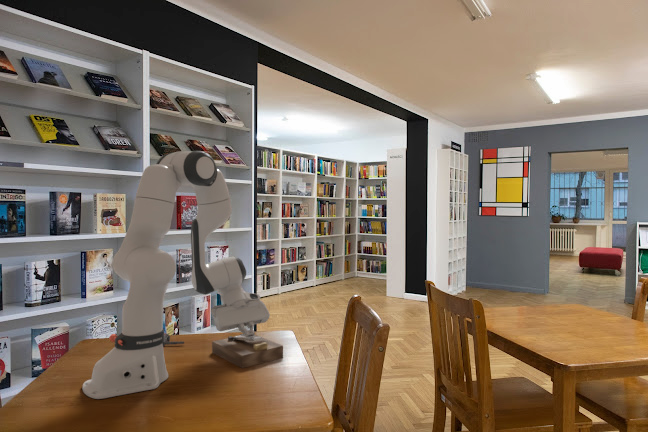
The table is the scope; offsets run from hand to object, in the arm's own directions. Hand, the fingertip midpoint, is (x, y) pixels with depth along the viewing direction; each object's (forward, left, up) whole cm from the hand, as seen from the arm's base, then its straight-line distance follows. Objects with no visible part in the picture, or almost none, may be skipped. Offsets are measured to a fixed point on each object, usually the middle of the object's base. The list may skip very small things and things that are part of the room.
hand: (250, 335), depth 149 cm
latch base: (0, +2, -7) cm, 7 cm away
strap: (0, +2, -2) cm, 3 cm away
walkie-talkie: (-18, +35, -8) cm, 40 cm away
